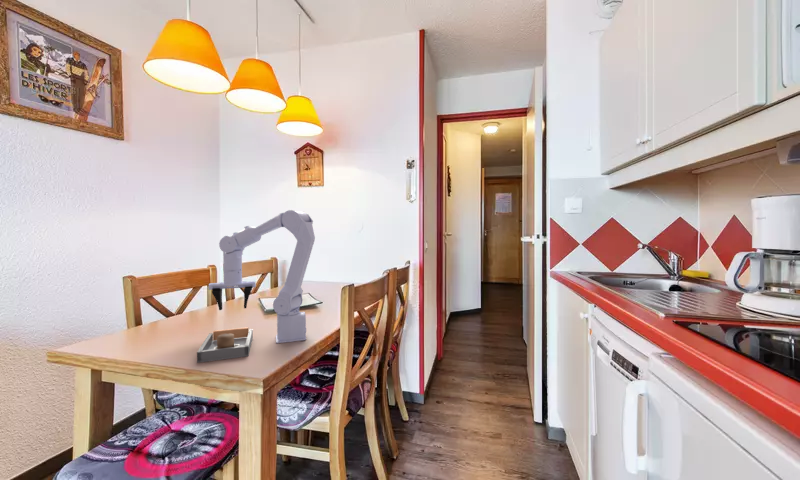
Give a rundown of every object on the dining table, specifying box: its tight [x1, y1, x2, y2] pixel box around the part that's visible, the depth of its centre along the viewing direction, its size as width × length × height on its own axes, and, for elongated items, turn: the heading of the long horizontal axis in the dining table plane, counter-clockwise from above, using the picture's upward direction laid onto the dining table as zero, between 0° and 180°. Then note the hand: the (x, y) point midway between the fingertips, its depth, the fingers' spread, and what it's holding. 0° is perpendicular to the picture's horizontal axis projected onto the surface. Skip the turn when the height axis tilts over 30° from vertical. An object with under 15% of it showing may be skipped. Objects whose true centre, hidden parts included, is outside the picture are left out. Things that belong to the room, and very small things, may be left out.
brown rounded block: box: [217, 334, 234, 349], centre depth 93 cm, size 4×4×5 cm
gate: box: [212, 326, 249, 341], centre depth 105 cm, size 10×1×3 cm, turn 112°
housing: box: [196, 328, 254, 364], centre depth 97 cm, size 13×17×3 cm
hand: (233, 308), depth 110 cm, fingers open, 7 cm apart
